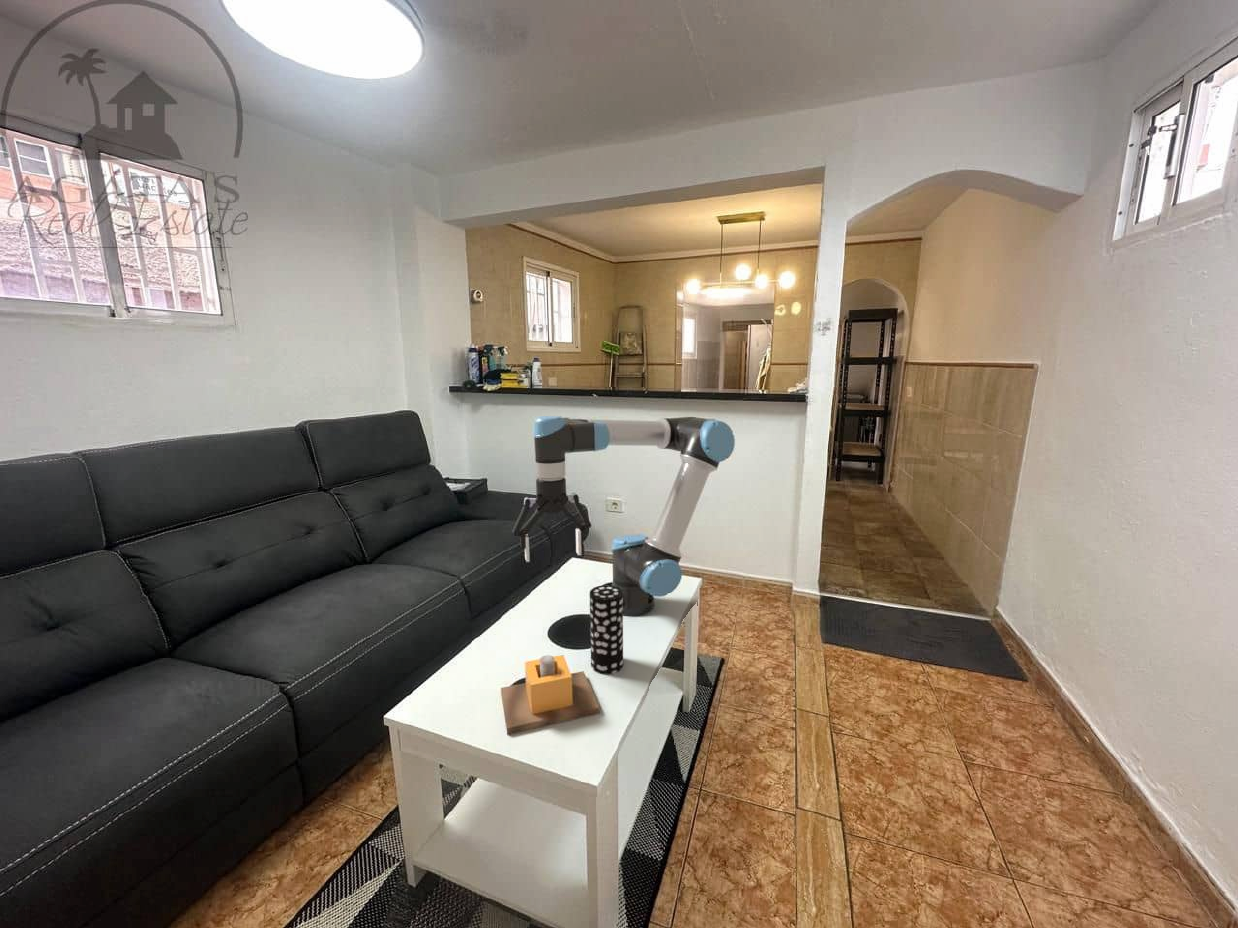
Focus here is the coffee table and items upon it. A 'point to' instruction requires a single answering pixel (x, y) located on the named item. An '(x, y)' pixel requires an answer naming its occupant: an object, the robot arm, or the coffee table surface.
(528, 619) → the coffee table surface
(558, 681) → the collar
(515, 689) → the post board
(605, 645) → the white-spotted black cylinder
